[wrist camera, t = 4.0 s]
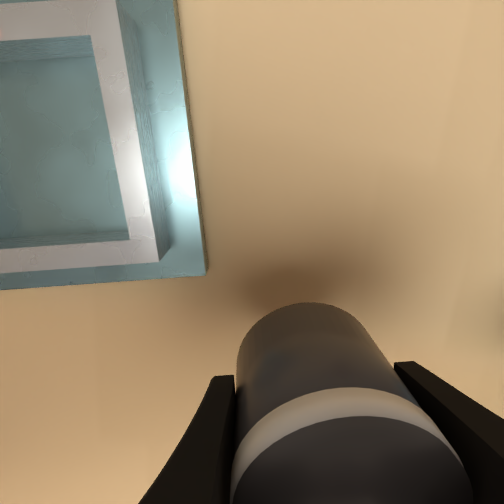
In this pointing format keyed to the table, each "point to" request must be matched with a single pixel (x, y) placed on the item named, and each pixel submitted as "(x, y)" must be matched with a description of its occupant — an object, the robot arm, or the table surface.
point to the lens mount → (95, 145)
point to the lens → (332, 420)
